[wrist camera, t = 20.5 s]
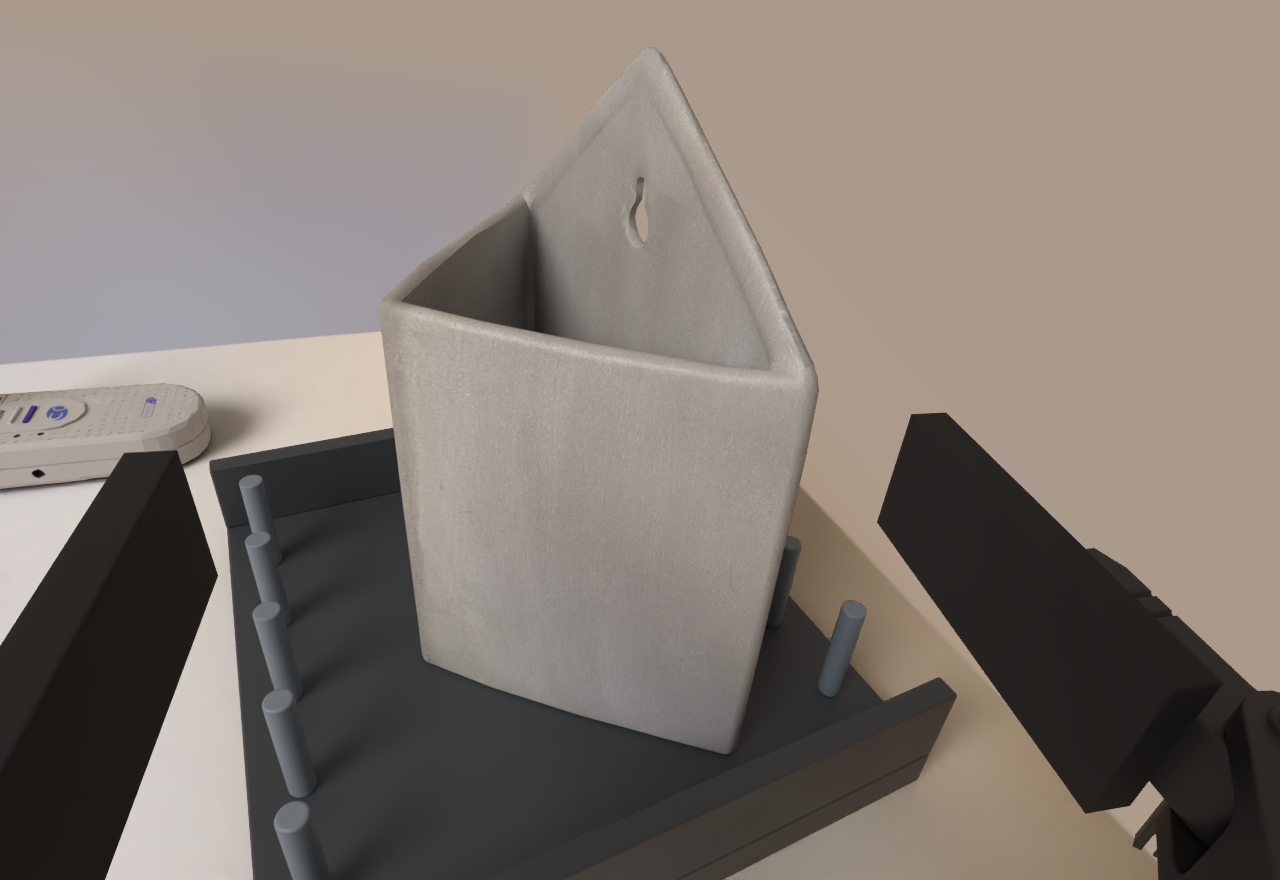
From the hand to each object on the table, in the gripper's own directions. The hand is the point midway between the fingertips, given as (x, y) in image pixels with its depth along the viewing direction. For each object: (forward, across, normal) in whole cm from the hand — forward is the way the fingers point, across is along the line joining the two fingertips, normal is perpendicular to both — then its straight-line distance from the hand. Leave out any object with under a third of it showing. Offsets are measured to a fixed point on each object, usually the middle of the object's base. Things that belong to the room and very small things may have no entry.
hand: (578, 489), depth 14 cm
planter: (+9, 0, -13) cm, 16 cm away
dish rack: (+9, 0, -14) cm, 17 cm away
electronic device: (+24, -23, -15) cm, 36 cm away
